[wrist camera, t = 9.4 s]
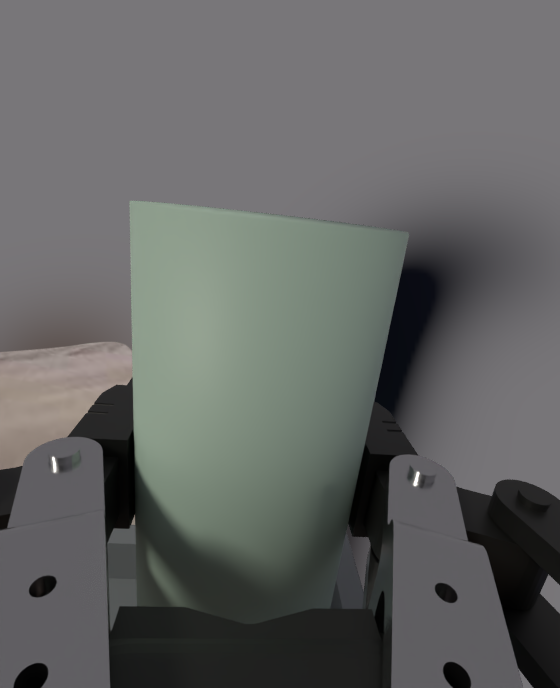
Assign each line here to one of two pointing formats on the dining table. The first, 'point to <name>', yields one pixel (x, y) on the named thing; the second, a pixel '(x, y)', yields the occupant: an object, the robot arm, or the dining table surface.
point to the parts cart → (124, 575)
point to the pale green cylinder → (251, 401)
